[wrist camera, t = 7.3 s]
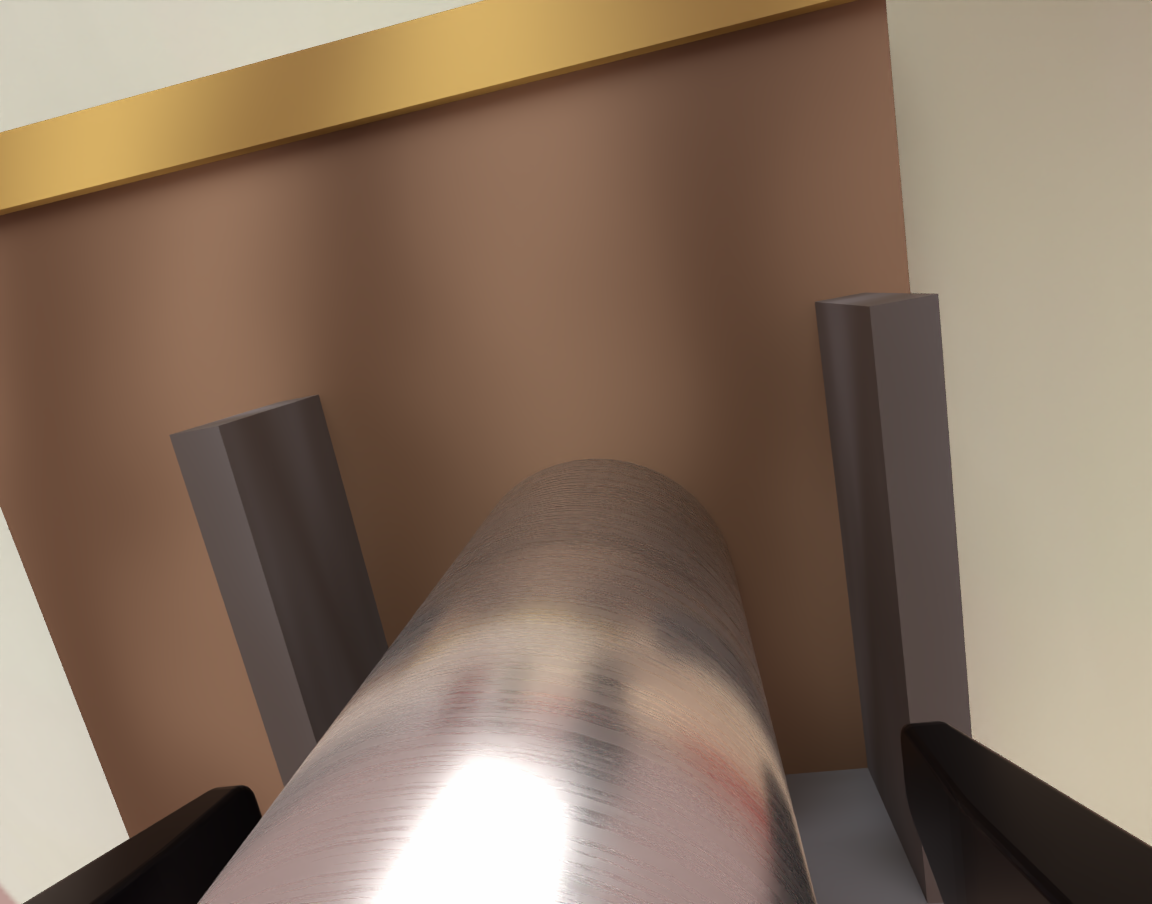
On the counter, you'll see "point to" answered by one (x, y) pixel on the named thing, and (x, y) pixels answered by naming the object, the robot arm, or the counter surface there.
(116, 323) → the dock
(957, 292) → the counter surface
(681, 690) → the canister
